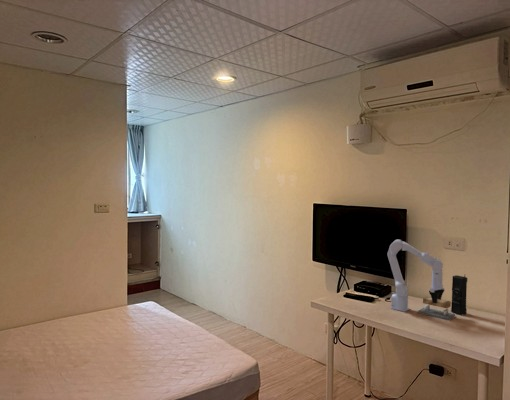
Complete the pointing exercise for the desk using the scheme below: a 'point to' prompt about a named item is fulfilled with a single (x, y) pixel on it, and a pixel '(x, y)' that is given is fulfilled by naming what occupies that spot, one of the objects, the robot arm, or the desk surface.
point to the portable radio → (459, 295)
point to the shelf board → (439, 302)
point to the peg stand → (436, 313)
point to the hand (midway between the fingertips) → (436, 301)
